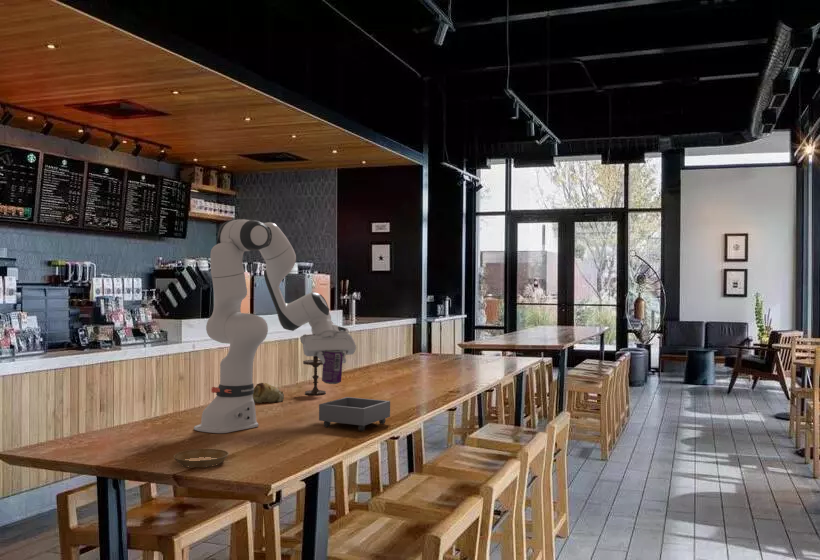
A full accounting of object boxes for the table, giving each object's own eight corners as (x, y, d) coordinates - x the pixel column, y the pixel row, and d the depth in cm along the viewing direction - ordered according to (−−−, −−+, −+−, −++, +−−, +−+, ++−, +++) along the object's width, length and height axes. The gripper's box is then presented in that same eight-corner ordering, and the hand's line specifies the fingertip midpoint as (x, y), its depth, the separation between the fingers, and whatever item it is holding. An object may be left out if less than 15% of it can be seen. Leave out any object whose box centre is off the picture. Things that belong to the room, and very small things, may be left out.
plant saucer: (163, 469, 201) (164, 459, 201) (187, 456, 215) (187, 447, 215) (216, 471, 199) (216, 461, 199) (236, 458, 213) (236, 449, 213)
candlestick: (330, 394, 326) (331, 315, 326) (306, 396, 322) (306, 315, 322) (324, 391, 336) (324, 313, 336) (300, 392, 332) (301, 314, 332)
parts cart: (363, 432, 248) (364, 408, 248) (318, 427, 256) (319, 404, 256) (390, 423, 264) (390, 401, 264) (346, 418, 272) (347, 396, 272)
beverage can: (342, 382, 279) (344, 350, 279) (339, 385, 272) (341, 352, 272) (324, 381, 279) (325, 349, 279) (319, 383, 272) (321, 350, 272)
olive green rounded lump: (243, 402, 307) (243, 382, 307) (261, 397, 319) (262, 379, 319) (271, 404, 301) (271, 385, 301) (289, 400, 313) (289, 381, 313)
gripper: (301, 329, 277) (310, 358, 268) (351, 328, 287) (362, 356, 278) (296, 340, 281) (306, 369, 272) (346, 338, 291) (356, 366, 282)
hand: (334, 362), depth 275 cm, fingers closed on beverage can, 6 cm apart
